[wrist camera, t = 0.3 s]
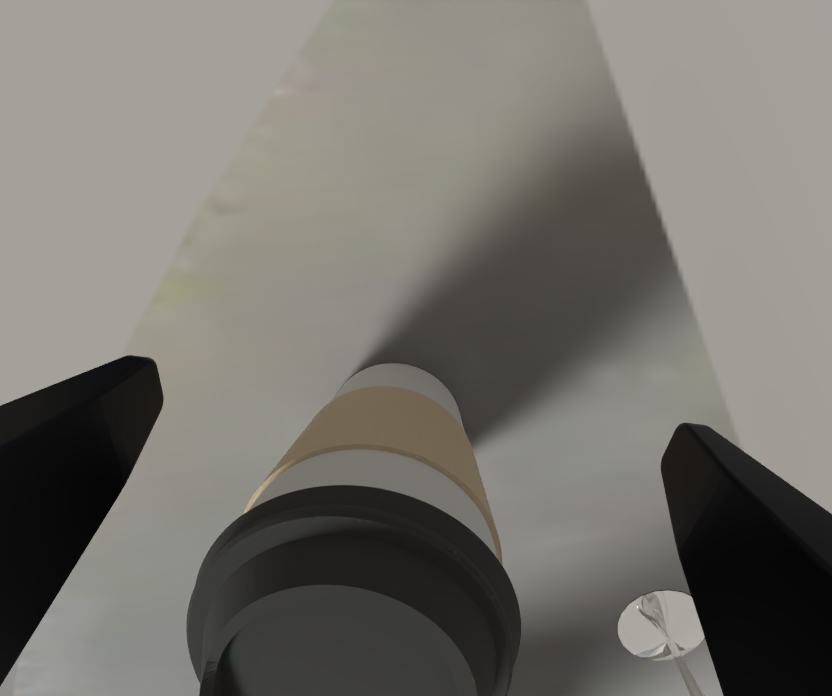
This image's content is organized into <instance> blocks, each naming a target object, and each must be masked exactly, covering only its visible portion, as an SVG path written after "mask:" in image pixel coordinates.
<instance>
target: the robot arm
mask: <svg viewBox="0 0 832 696" xmlns="http://www.w3.org/2000/svg"><path fill="white" fill-rule="evenodd" d="M162 406H163V392H162V387H161V383H160V378H159V373H158V369H157V365H156V363H155V361H154V360H153V359H151V358H149V357H141V356H133V355H129V356H124V357H122V358H119V359H117V360H114V361H112V362H109V363H107V364H104V365H102V366H99V367H97V368H94V369H92V370H89V371H87V372H84V373H82V374H79V375H77V376H74V377H72V378H69V379H66V380H64V381H62V382H59V383H57V384H54V385H51V386H49V387H47V388H44V389H41V390H39V391H36V392H34V393H31V394H29V395H26V396H24V397H21V398H18V399H16V400H13V401H11V402H9V403H6V404H3V405H1V406H0V686H1V684H2V683H3V681H4V679H5V678H6V676H7V675H8V673H9V671H10V670H11V668H12V667H13V665H14V663H15V662H16V660H17V659H18V657H19V655H20V654H21V652H22V650H23V649H24V647H25V646H26V644H27V642H28V641H29V639H30V638H31V636H32V634H33V633H34V631H35V630H36V628H37V626H38V625H39V623H40V621H41V620H42V618H43V617H44V615H45V613H46V612H47V610H48V609H49V607H50V605H51V604H52V602H53V601H54V599H55V597H56V596H57V594H58V592H59V591H60V589H61V588H62V586H63V584H64V583H65V581H66V580H67V578H68V576H69V575H70V573H71V572H72V570H73V568H74V567H75V565H76V563H77V562H78V560H79V559H80V557H81V555H82V554H83V552H84V551H85V549H86V547H87V546H88V544H89V543H90V541H91V539H92V538H93V536H94V534H95V533H96V531H97V530H98V528H99V526H100V525H101V523H102V522H103V520H104V518H105V517H106V515H107V514H108V512H109V510H110V509H111V507H112V505H113V504H114V502H115V501H116V499H117V497H118V496H119V494H120V492H121V491H122V489H123V487H124V486H125V484H126V482H127V480H128V478H129V476H130V474H131V472H132V470H133V468H134V466H135V464H136V462H137V460H138V458H139V456H140V453H141V451H142V449H143V447H144V445H145V443H146V441H147V439H148V437H149V435H150V432H151V430H152V428H153V426H154V424H155V422H156V420H157V418H158V416H159V414H160V411H161V409H162ZM661 474H662V479H663V483H664V488H665V493H666V498H667V503H668V508H669V513H670V518H671V523H672V528H673V533H674V538H675V542H676V547H677V551H678V555H679V558H680V561H681V565H682V568H683V571H684V574H685V577H686V580H687V584H688V587H689V590H690V593H691V596H692V599H693V602H694V605H695V608H696V611H697V615H698V618H699V621H700V624H701V627H702V630H703V633H704V636H705V639H706V642H707V646H708V649H709V652H710V655H711V658H712V661H713V664H714V667H715V670H716V674H717V677H718V680H719V683H720V686H721V689H722V692H723V695H724V696H832V514H831V513H829V512H828V511H826V510H825V509H824V508H822V507H821V506H819V505H818V504H816V503H815V502H814V501H812V500H811V499H810V498H808V497H807V496H805V495H804V494H803V493H801V492H800V491H798V490H797V489H795V488H794V487H793V486H791V485H790V484H789V483H787V482H786V481H784V480H783V479H782V478H780V477H779V476H777V475H776V474H774V473H773V472H772V471H770V470H769V469H767V468H766V467H765V466H763V465H762V464H761V463H759V462H758V461H756V460H755V459H753V458H752V457H751V456H749V455H748V454H746V453H745V452H744V451H742V450H741V449H739V448H738V447H737V446H735V445H734V444H732V443H731V442H730V441H728V440H727V439H725V438H724V437H723V436H721V435H720V434H718V433H717V432H716V431H714V430H713V429H711V428H710V427H708V426H706V425H700V424H692V423H682V424H680V425H679V426H678V427H677V428H676V430H675V432H674V434H673V436H672V438H671V440H670V442H669V444H668V446H667V449H666V451H665V453H664V455H663V457H662V461H661Z"/></svg>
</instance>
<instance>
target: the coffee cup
mask: <svg viewBox="0 0 832 696" xmlns="http://www.w3.org/2000/svg"><path fill="white" fill-rule="evenodd" d="M520 637H521V619H520V611H519V605H518V601H517V597H516V594H515V591H514V589H513V586H512V584H511V581H510V579H509V577H508V575H507V573H506V571H505V570H504V568H503V566H502V553H501V546H500V541H499V537H498V534H497V530H496V527H495V524H494V520H493V517H492V514H491V510H490V507H489V504H488V500H487V497H486V493H485V490H484V487H483V483H482V480H481V477H480V473H479V470H478V467H477V463H476V460H475V456H474V453H473V450H472V447H471V444H470V442H469V439H468V437H467V435H466V433H465V431H464V427H463V423H462V419H461V416H460V412H459V409H458V406H457V404H456V401H455V399H454V398H453V396H452V394H451V393H450V392H449V390H448V389H447V388H446V387H445V386H444V384H443V383H442V382H440V381H439V380H438V379H437V378H436V377H434V376H433V375H431V374H430V373H428V372H426V371H424V370H422V369H420V368H417V367H414V366H411V365H407V364H400V363H385V364H379V365H374V366H371V367H368V368H366V369H364V370H362V371H360V372H358V373H356V374H355V375H354V376H352V377H351V378H350V379H349V380H348V381H347V382H346V383H345V384H344V385H343V386H342V387H341V389H340V390H339V391H338V393H337V394H336V395H335V396H334V398H333V399H332V400H331V402H330V403H329V404H327V405H326V406H325V407H324V408H323V409H322V410H321V411H320V412H319V413H318V414H317V415H316V416H315V417H314V419H313V420H312V421H311V422H310V424H309V425H308V426H307V427H306V429H305V430H304V431H303V433H302V434H301V435H300V436H299V438H298V439H297V440H296V441H295V443H294V444H293V445H292V446H291V448H290V449H289V450H288V451H287V453H286V454H285V455H284V456H283V458H282V459H281V460H280V462H279V463H278V464H277V465H276V467H275V468H274V469H273V470H272V472H271V473H270V474H269V475H268V477H267V478H266V479H265V480H264V482H263V483H262V484H261V486H260V487H259V488H258V489H257V491H256V492H255V493H254V495H253V496H252V498H251V499H250V501H249V503H248V505H247V507H246V509H245V511H244V513H243V515H242V516H240V517H239V518H238V519H237V520H235V521H234V522H233V523H232V524H231V525H230V526H229V527H227V528H226V529H225V530H224V532H223V533H222V534H221V535H220V536H219V537H218V538H217V540H216V541H215V542H214V544H213V545H212V547H211V548H210V550H209V551H208V553H207V555H206V557H205V559H204V561H203V563H202V565H201V568H200V570H199V573H198V576H197V580H196V585H195V588H194V590H193V593H192V596H191V599H190V603H189V608H188V614H187V643H188V649H189V653H190V658H191V661H192V664H193V667H194V670H195V673H196V675H197V678H198V680H199V682H200V696H507V693H508V690H509V686H510V682H511V677H512V669H513V666H514V663H515V661H516V657H517V654H518V650H519V644H520Z"/></svg>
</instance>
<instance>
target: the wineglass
mask: <svg viewBox="0 0 832 696" xmlns="http://www.w3.org/2000/svg"><path fill="white" fill-rule="evenodd" d="M618 636H619V638H620V640H621V642H622V644H623V646H624V647H625V648H626V649H628V650H629V651H630V652H631V653H632V654H634V655H637V656H639V657H641V658H643V659H649V660H655V661H660V660H671V659H674V660H675V662H676V665H677V667H678V669H679V672H680V674H681V676H682V678H683V681H684V683H685V685H686V687H687V690H688V692H689V694H690V696H705V695H704V694H703V692H702V690H701V688H700V687H699V685H698V683H697V681H696V679H695V678H694V676H693V674H692V672H691V671H690V669H689V667H688V665H687V663H686V662H685V660H684V658H683V656H684V655H685V654H687V653H689V652H690V651H692V650H693V649H695V648H696V647H697V646H698V645H699V644H700V643H701V641H702V640H703V639H704V637H705V636H704V633H703V630H702V627H701V624H700V621H699V618H698V615H697V611H696V608H695V605H694V602H693V599H692V597H691V596H689V595H687V594H685V593H682V592H676V591H670V590H667V591H656V592H652V593H649V594H646V595H643V596H640V597H639V598H638V599H636V600H635V601H633V602H632V603H630V604H629V605H628V606H627V607H626V609H625V610H624V611H623V612H622V614H621V616H620V619H619V622H618Z"/></svg>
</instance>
